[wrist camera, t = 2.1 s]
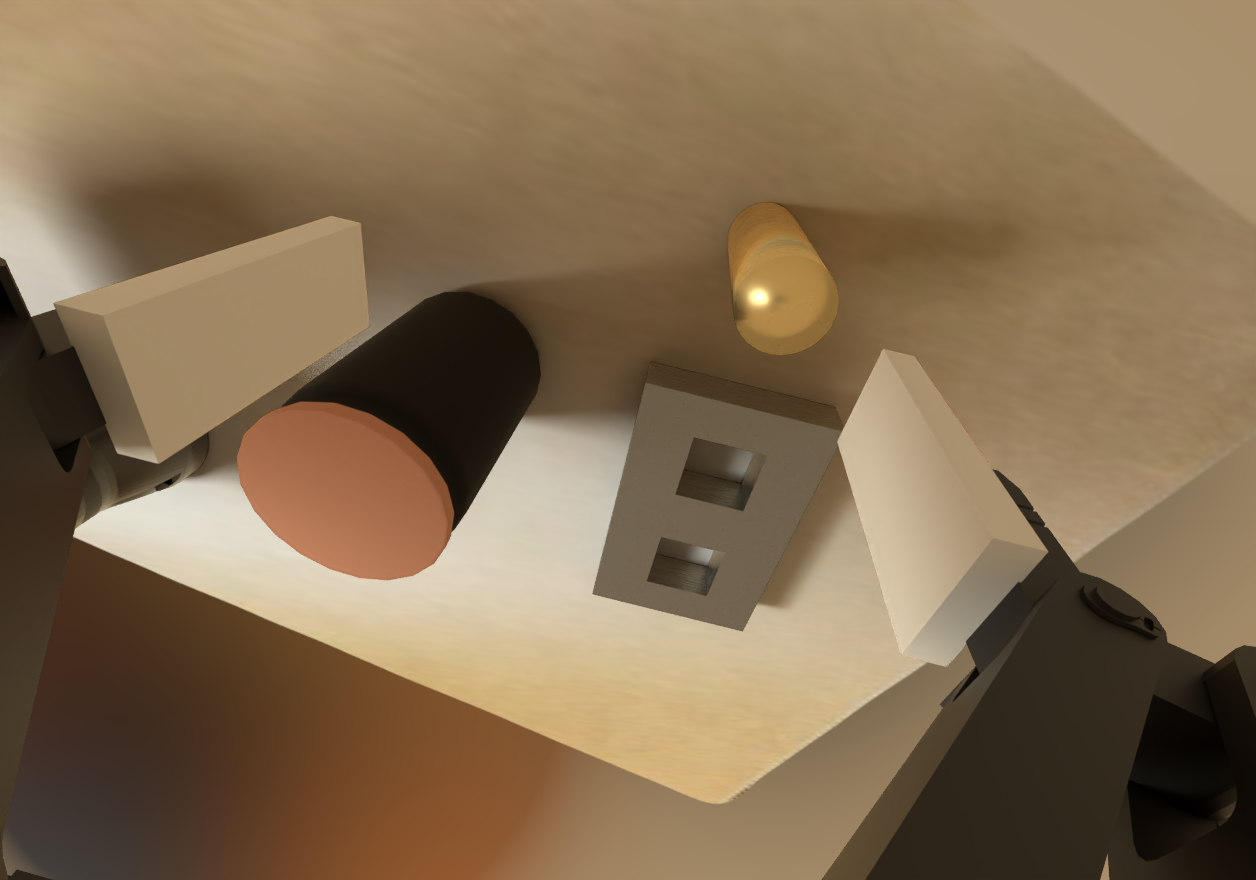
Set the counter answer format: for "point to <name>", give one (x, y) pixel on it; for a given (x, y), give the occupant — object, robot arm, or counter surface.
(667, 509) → the block
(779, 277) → the yellow translucent cylinder
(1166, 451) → the counter surface
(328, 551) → the coffee jar
